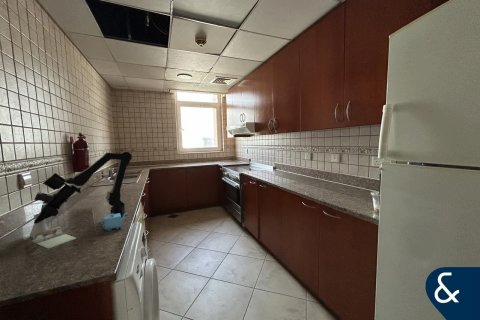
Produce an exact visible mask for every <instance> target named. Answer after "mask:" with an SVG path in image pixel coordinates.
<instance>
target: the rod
mask: <svg viewBox="0 0 480 320" xmlns="http://www.w3.org/2000/svg"><path fill="white" fill-rule="evenodd" d="M57 229H62V228H61V226H60V225H59V226H56V227H53V228H49V230H46V231H42V232H39V233H36V234H34V237H36V236H38V235H41V234H42V235H43V236H45V235H44V234H46V235H49V234H50V233H53V232H54V231H56V230H57Z"/></svg>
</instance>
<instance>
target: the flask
mask: <svg viewBox="0 0 480 320" xmlns="http://www.w3.org/2000/svg"><path fill="white" fill-rule="evenodd" d="M39 215H40V214H39V213H37V214H33V217H34V220H36V219H37V217H38V216H39ZM49 229H50V228H49V226H48V225H47V224H46V222H45V220H43V221H40V222H38V223H36V224H35V223H34V222H33V226H32V227H31V231H30V234H29V238H33V237H34V234H36V233H39V232H42V231H46V230H49ZM42 236H43V237H44V236H47V234H44V235H42Z"/></svg>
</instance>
